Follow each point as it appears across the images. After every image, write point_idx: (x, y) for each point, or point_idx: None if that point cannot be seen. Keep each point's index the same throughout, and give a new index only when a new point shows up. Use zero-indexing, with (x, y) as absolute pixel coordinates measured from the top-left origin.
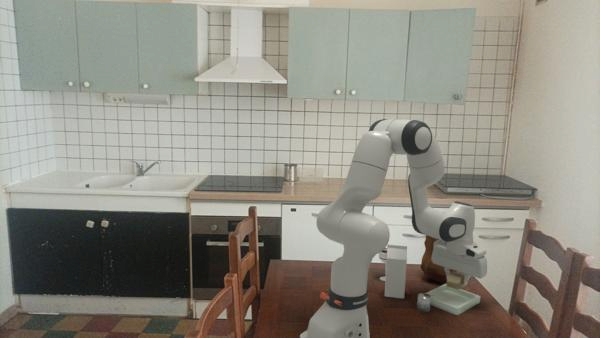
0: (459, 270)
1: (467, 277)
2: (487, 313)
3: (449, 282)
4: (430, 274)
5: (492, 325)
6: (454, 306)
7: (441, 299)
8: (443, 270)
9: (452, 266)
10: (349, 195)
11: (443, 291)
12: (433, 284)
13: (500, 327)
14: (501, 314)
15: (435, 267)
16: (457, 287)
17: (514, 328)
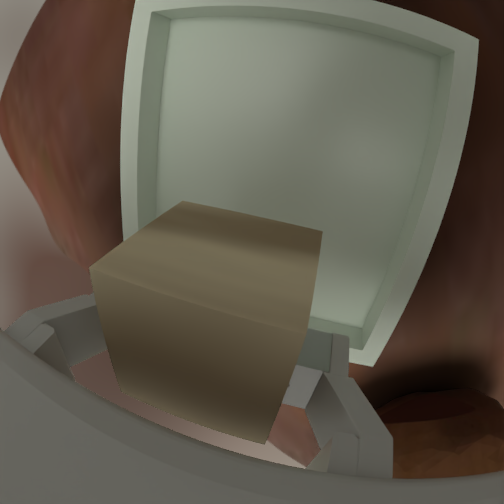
0: (47, 392)
1: (33, 312)
2: (78, 175)
3: (277, 247)
4: (472, 402)
5: (36, 79)
6: (163, 3)
7: (340, 128)
8: (398, 453)
9: (172, 501)
10: None
11: (371, 286)
12: (441, 359)
13: (21, 92)
14: (53, 211)
15: (458, 452)
16: (176, 212)
17: (3, 131)
